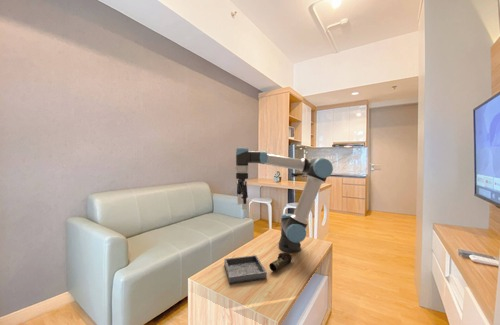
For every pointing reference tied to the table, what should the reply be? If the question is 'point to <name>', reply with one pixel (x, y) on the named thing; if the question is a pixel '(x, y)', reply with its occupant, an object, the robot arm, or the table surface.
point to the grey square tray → (244, 269)
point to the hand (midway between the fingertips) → (241, 206)
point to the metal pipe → (280, 261)
